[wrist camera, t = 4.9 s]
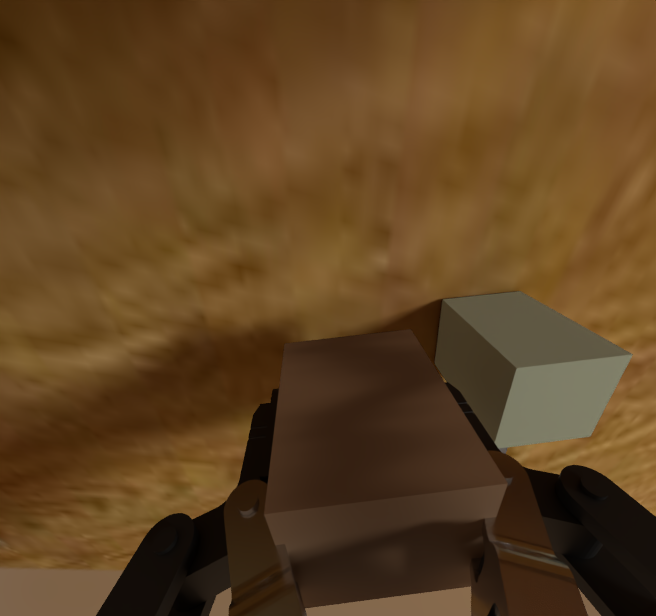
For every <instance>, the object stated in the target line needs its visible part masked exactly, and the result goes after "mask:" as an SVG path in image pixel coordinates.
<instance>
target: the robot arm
mask: <svg viewBox="0 0 656 616" xmlns="http://www.w3.org/2000/svg"><path fill="white" fill-rule="evenodd" d="M445 384H446V386H447V387H448V389H449V391H450V392H451V394H452V395H453V397H454V399H455V400H456V402H457V403H458V405H459V407H460V408H461V410H462V411H463V413H464V414H465V416H466V418H467V419H468V421H469V422H470V424H471V426H472V427H473V429H474V430H475V432H476V434H477V435H478V437H479V438H480V440H481V442H482V443H483V445H484V446H485V448H486V450H487V451H488V453H489V454H490V456H491V457H492V459H493V461H494V462H495V464H496V465H497V467H498V469H499V470H500V472H501V473H502V475H503V477H504V478H505V480H506V481H507V483H508V485H507V488H506V490H505V493H504V496H503V499H502V502H501V505H500V507H499V510H498V513H497V516H496V517H492V518H484V522H483V525H482V528H481V530H482V536H483V543H484V553H483V556H482V557H481V558H473V559H471V563H470V566H469V569H470V577H471V594H472V595H471V616H588V614H587V611H586V609H585V606H584V604H583V601H582V597H581V595H580V592H579V589H580V590H581V592H582V593H583V594H584V595H585V597H586V598H587V599H588V600H589V601H590V602H591V604H592V605H593V606H594V607H595V609H596V610H597V611H598V612H599V613H600V614H601V616H656V517H655V516H654V515H653V514H652V513H650V512H649V511H648V510H647V509H645V508H644V507H643V506H642V505H640V504H639V503H638V502H637V501H636V500H634V499H633V498H632V497H631V496H629V495H628V494H627V493H626V492H624V491H623V490H622V489H621V488H620V487H618V486H617V485H616V484H615V483H613V482H612V481H611V480H610V479H608V478H607V477H606V476H604V475H602V474H601V473H599V472H597V471H595V470H593V469H590V468H587V467H584V466H579V465H570V466H567V467H565V468H564V469H563V470H562V471H561V473H560V475H558V474H553V473H547V472H542V471H537V470H532V469H528V468H525V467H522V465H521V464H520V463H519V462H518V461H516V460H515V459H514V458H512V457H511V456H509V455H507V454H505V453H502V452H501V451H500V450H499V449H498V447H497V446H496V444H495V443H494V441H493V440H492V438H491V437H490V435H489V434H488V432H487V431H486V429H485V428H484V426H483V425H482V423H481V422H480V420H479V419H478V417H477V416H476V415H475V413H473V410H472V409H471V407H470V406H469V404H467V401H466V400H465V398H464V397H463V395H462V394H461V392H460V391H459V390H458V389H456V388H455V387H454V386H452V385H451V384H450V383H449V382H446V383H445ZM278 394H279V389H273V391H272V397H271V403H266V404H260V406H259V407H258V409H257V410H256V412H255V413H254V415H253V418H252V423H251V430H250V433H249V437H248V438H249V440H248V442H247V447H246V452H245V456H244V461H243V466H242V470H241V475H240V480H239V483H238V485H237V487H236V488H235V489H234V490H233V491H232V493H231V494H230V495H229V497H228V499H227V501H225V502H224V503H223V504H222V505H220V506H219V507H217V508H215V509H213V510H211V511H209V512H207V513H205V514H203V515H201V516H199V517H196V518H194V519H191V518H190V517H189V516H188V515H186V514H183V513H177V514H172V515H169V516H167V517H165V518H164V519H162V520H161V521H159V522H158V523H157V524H156V525H155V526H154V527H153V528H152V529H151V530H150V531H149V532H148V533H147V535H146V536H145V538H144V539H143V541H142V542H141V544H140V546H139V547H138V549H137V550H136V552H135V554H134V555H133V557H132V558H131V560H130V562H129V563H128V565H127V567H126V568H125V570H124V571H123V573H122V575H121V576H120V578H119V579H118V581H117V583H116V585H115V586H114V587H113V589H112V591H111V592H110V594H109V596H108V597H107V599H106V600H105V602H104V604H103V605H102V607H101V609H100V610H99V612H98V613H97V615H96V616H209V613H210V611H211V608H212V605H213V603H214V600H215V597H216V595H217V594H219V593H221V592H222V591H224V590H226V589H228V588H230V587H231V593H232V601H231V604H230V606H229V616H307V615H306V611H305V607H304V603H303V600H302V596H301V592H300V589H299V585H298V582H295V578H294V574H293V571H292V567H291V563H290V559H289V555H288V552H287V549H286V546H285V544H281V545H275V543H274V540H273V538H272V535H271V532H270V529H269V527H268V524H267V521H266V518H265V516H264V510H265V502H266V493H267V485H268V477H269V469H270V460H271V452H272V444H273V435H274V427H275V419H276V411H277V402H278ZM578 588H579V589H578Z"/></svg>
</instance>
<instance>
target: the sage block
mask: <svg viewBox="0 0 656 616" xmlns="http://www.w3.org/2000/svg"><path fill="white" fill-rule="evenodd" d="M632 355H633V354H631V353H629V352H628V351H626V350H624V349H622V348H620V347H619V346H617V345H615V344H613V343H612V342H610V341H608V340H606V339H604V338H603V337H601V336H599V335H597V334H596V333H594V332H592V331H590V330H588V329H587V328H585V327H583V326H581V325H580V324H578V323H576V322H574V321H572V320H571V319H569V318H567V317H565V316H564V315H562V314H560V313H558V312H556V311H555V310H553V309H551V308H549V307H548V306H546V305H544V304H542V303H540V302H539V301H537V300H535V299H533V298H532V297H530V296H528V295H526V294H524V293H523V292H521V291H518V292H508V293H499V294H489V295H480V296H470V297H461V298H451V299H443V300H442V308H441V316H440V324H439V332H438V340H437V348H436V356H435V365H436V367H437V368H438V370H439V371H440V373H441V374H442V376H443V377H444V379H445V380H446V381H447V382H449V383H450V384H451V385H452V386H454V387H455V388H456V389H458V390H459V391H460V392H461V394H462V395H463V397H464V398H465V400H466V401H467V404H469V406H470V407H471V409H472V410H473V413H475V415H476V416H477V417H478V419H479V420H480V422H481V423H482V425H483V426H484V428H485V429H486V431H487V432H488V434H489V435H490V437H491V438H492V440H493V441H494V443H495V444H496V446H497V447H498V449H499V448H506V447H514V446H522V445H529V444H537V443H544V442H552V441H560V440H567V439H575V438H583V437H590V436H591V434H592V432H593V430H594V428H595V426H596V424H597V423H598V421H599V419H600V417H601V415H602V413H603V411H604V409H605V407H606V405H607V403H608V401H609V399H610V397H611V396H612V394H613V392H614V390H615V388H616V386H617V384H618V382H619V380H620V378H621V376H622V374H623V372H624V370H625V368H626V367H627V365H628V363H629V361H630V359H631V357H632Z"/></svg>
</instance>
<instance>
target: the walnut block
mask: <svg viewBox="0 0 656 616" xmlns="http://www.w3.org/2000/svg"><path fill="white" fill-rule="evenodd" d="M507 485H508V483H507V481H506V480H505V478H504V477H503V475H502V473H501V472H500V470H499V469H498V467H497V465H496V464H495V462H494V461H493V459H492V457H491V456H490V454H489V453H488V451H487V450H486V448H485V446H484V445H483V443H482V442H481V440H480V438H479V437H478V435H477V434H476V432H475V430H474V429H473V427H472V426H471V424H470V422H469V421H468V419H467V418H466V416H465V414H464V413H463V411H462V410H461V408H460V407H459V405H458V403H457V402H456V400H455V399H454V397H453V395H452V394H451V392H450V391H449V389H448V387H447V386H446V384H445V383H444V381H443V379H442V378H441V376H440V375H439V373H438V372H437V370H436V368H435V367H434V365H433V364H432V362H431V360H430V359H429V357H428V356H427V354H426V352H425V351H424V349H423V348H422V346H421V344H420V343H419V341H418V340H417V338H416V337H415V335H414V333H413V332H412V330H411V329H408V330H399V331H391V332H382V333H373V334H364V335H356V336H347V337H338V338H329V339H321V340H312V341H303V342H294V343H286V344H284V353H283V361H282V369H281V377H280V386H279V394H278V402H277V411H276V419H275V427H274V435H273V444H272V452H271V460H270V469H269V477H268V485H267V493H266V502H265V510H264V516H265V518H266V521H267V524H268V527H269V529H270V532H271V535H272V538H273V540H274V543H275V545H281V544H285V546H286V549H287V552H288V555H289V559H290V563H291V567H292V571H293V574H294V578H295V582H298V585H299V589H300V592H301V596H302V600H303V603H304V607H305V608H311V607H318V606H326V605H333V604H341V603H348V602H355V601H364V600H370V599H379V598H386V597H394V596H401V595H409V594H416V593H424V592H432V591H439V590H446V589H454V588H462V587H469V586H471V577H470V569H469V566H470V563H471V559H473V558H481V557H482V556H483V553H484V543H483V536H482V530H481V528H482V525H483V522H484V518H492V517H496V516H497V513H498V510H499V507H500V505H501V502H502V499H503V496H504V493H505V490H506V488H507Z"/></svg>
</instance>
